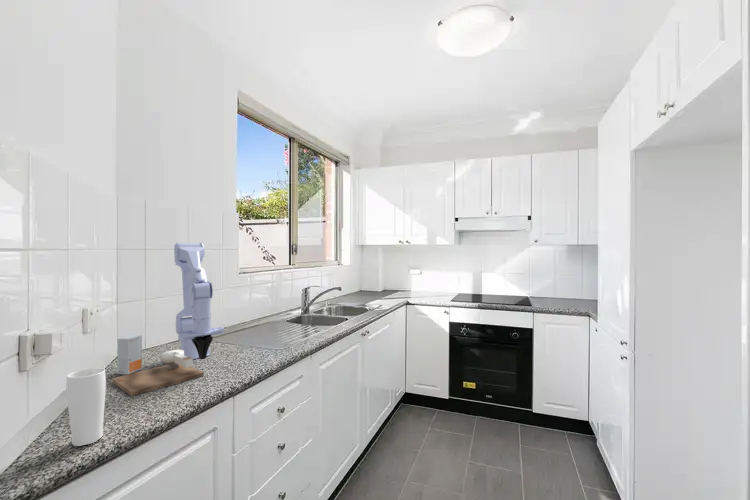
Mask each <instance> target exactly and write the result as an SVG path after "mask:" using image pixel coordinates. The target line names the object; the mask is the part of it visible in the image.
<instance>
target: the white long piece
mask: <svg viewBox="0 0 750 500" xmlns="http://www.w3.org/2000/svg"><path fill="white" fill-rule="evenodd" d="M193 361H194V359H192V357H187V356H185V355H184V350H181V349H171V350H166V351H164V352H161V353H160V362H161V363H165V364H167V363H171V362H175V363H177V364H179V365H181V366H184V367H186V368H187V367H194V365H193V364H194V363H193Z"/></svg>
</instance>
